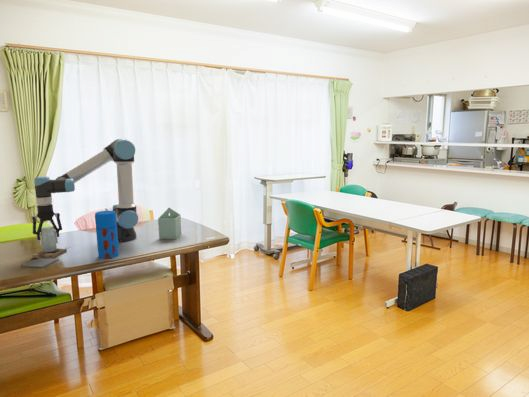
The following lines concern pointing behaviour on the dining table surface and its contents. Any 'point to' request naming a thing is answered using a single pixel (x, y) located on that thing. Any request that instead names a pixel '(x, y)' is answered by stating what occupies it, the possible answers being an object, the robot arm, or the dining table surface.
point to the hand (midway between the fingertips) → (49, 244)
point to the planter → (169, 225)
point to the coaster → (40, 262)
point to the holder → (42, 255)
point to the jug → (48, 239)
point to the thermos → (106, 234)
